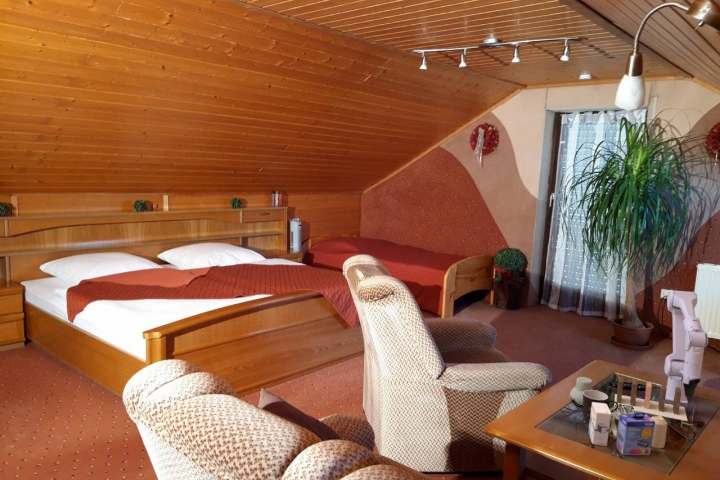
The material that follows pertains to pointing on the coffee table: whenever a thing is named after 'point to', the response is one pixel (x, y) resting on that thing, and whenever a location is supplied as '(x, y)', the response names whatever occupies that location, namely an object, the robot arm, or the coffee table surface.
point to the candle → (659, 432)
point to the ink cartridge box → (635, 434)
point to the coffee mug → (596, 397)
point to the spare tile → (647, 395)
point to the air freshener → (581, 389)
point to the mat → (654, 408)
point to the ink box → (599, 423)
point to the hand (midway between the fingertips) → (688, 396)
